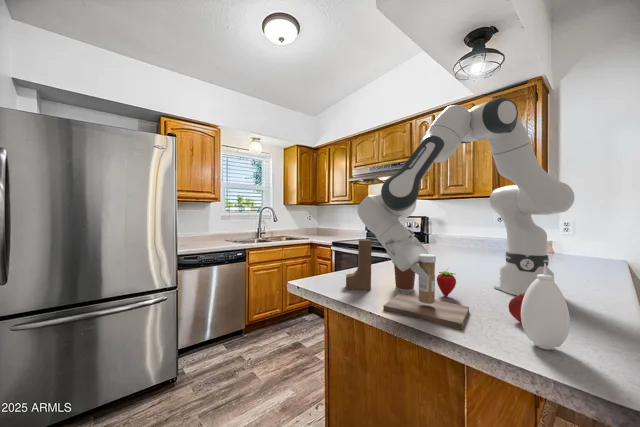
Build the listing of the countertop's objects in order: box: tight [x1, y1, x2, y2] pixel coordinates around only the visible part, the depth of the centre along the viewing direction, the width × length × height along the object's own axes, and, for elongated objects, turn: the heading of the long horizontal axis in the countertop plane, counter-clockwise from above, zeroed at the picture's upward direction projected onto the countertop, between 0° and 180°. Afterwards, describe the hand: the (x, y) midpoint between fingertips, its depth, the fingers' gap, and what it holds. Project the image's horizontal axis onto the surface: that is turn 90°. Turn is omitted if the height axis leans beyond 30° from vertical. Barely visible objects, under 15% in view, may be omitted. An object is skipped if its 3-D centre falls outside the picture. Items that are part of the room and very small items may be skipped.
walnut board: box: [382, 292, 470, 331], centre depth 74 cm, size 14×20×2 cm
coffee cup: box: [391, 260, 416, 292], centre depth 96 cm, size 9×9×12 cm
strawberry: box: [436, 268, 457, 298], centre depth 88 cm, size 6×8×10 cm
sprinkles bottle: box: [418, 253, 437, 304], centre depth 74 cm, size 5×5×14 cm
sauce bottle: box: [521, 263, 571, 351], centre depth 55 cm, size 8×8×18 cm
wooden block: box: [345, 238, 372, 291], centre depth 96 cm, size 9×4×18 cm, turn 84°
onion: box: [508, 292, 525, 324], centre depth 67 cm, size 6×6×8 cm
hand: (429, 275), depth 74 cm, fingers closed on sprinkles bottle, 4 cm apart
